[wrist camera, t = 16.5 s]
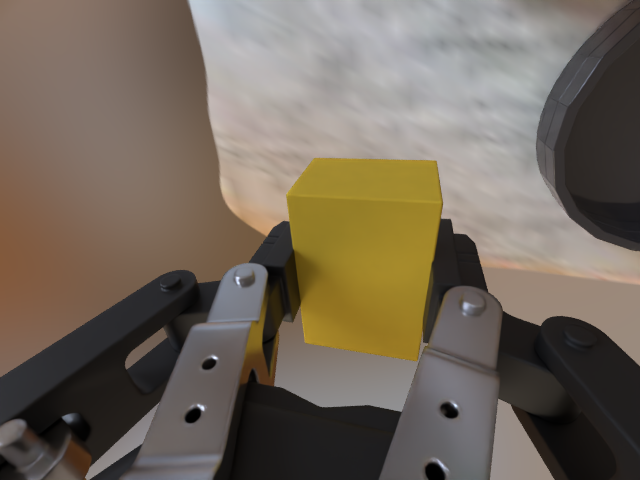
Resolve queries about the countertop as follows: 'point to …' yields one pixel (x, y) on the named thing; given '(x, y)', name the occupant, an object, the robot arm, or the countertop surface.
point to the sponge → (365, 251)
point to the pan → (597, 133)
